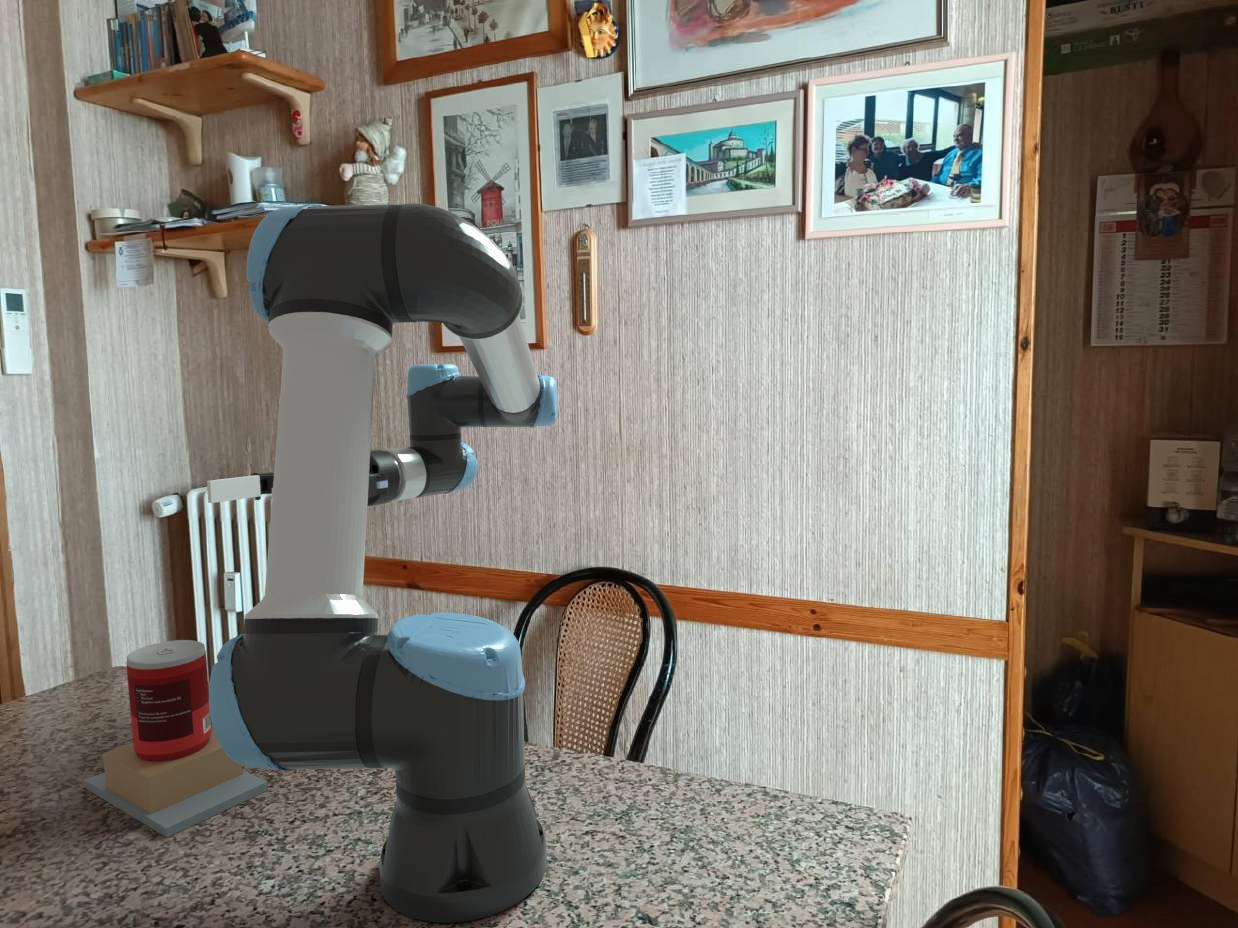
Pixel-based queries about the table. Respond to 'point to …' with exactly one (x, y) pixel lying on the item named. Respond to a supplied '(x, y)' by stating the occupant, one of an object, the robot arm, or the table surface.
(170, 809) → the plinth
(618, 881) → the table surface
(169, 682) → the canned food
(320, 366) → the robot arm
